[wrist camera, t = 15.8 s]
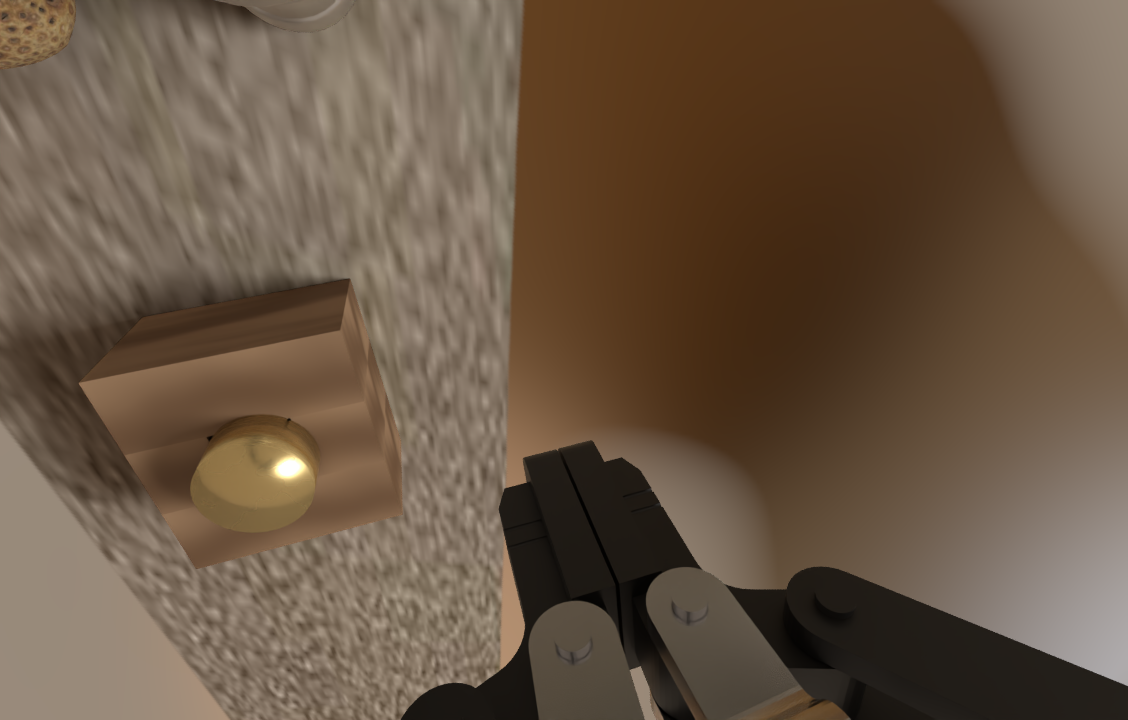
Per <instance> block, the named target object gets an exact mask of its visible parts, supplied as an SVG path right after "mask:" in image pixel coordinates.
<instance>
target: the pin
mask: <svg viewBox="0 0 1128 720" xmlns="http://www.w3.org/2000/svg"><path fill="white" fill-rule="evenodd" d="M319 464H320V450H319V446H318V444H317V442H316V440H315V439H314V437H313V436H312V435H311V433H310V432H309V431H308V430H306V429H305V428H304V427H303V426H301V425H300V424H298V423H296V422H294V421H292V420H291V419H290V418H288V419H287V418H284V417H280V416H275V415H266V414H258V415H249V416H244V417H240V418H237V419H235V420H232V421H230V422H229V423H227V424H225V425H224V426H222V427H221V428H220V429H219V430H218V431H217V432H216V433H215V434H214V435H213V436H212V438H211V440H210V442H209V444H208V446H207V448H206V450H205V452H204V454H203V456H202V458H201V460H200V462H199V464H198V466H197V469H196V471H195V473H194V475H193V477H192V480H191V486H190V491H191V497H192V500H193V502H194V504H195V506H196V508H197V509H198V510H199V512H200V513H201V514H202V515H203V516H205V517H206V518H207V519H208V520H210V521H211V522H213V523H215V524H217V525H219V526H221V527H224V528H227V529H230V530H234V531H239V532H249V533H258V532H267V531H272V530H276V529H279V528H282V527H285V526H287V525H289V524H291V523H293V522H294V521H296V520H297V519H299V518H300V517H301V516H302V515H303V514H304V513H305V512H306V511H307V509H308V508H309V506H310V505H311V503H312V500H313V497H314V492H315V487H316V481H317V476H318V470H319Z"/></svg>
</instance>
